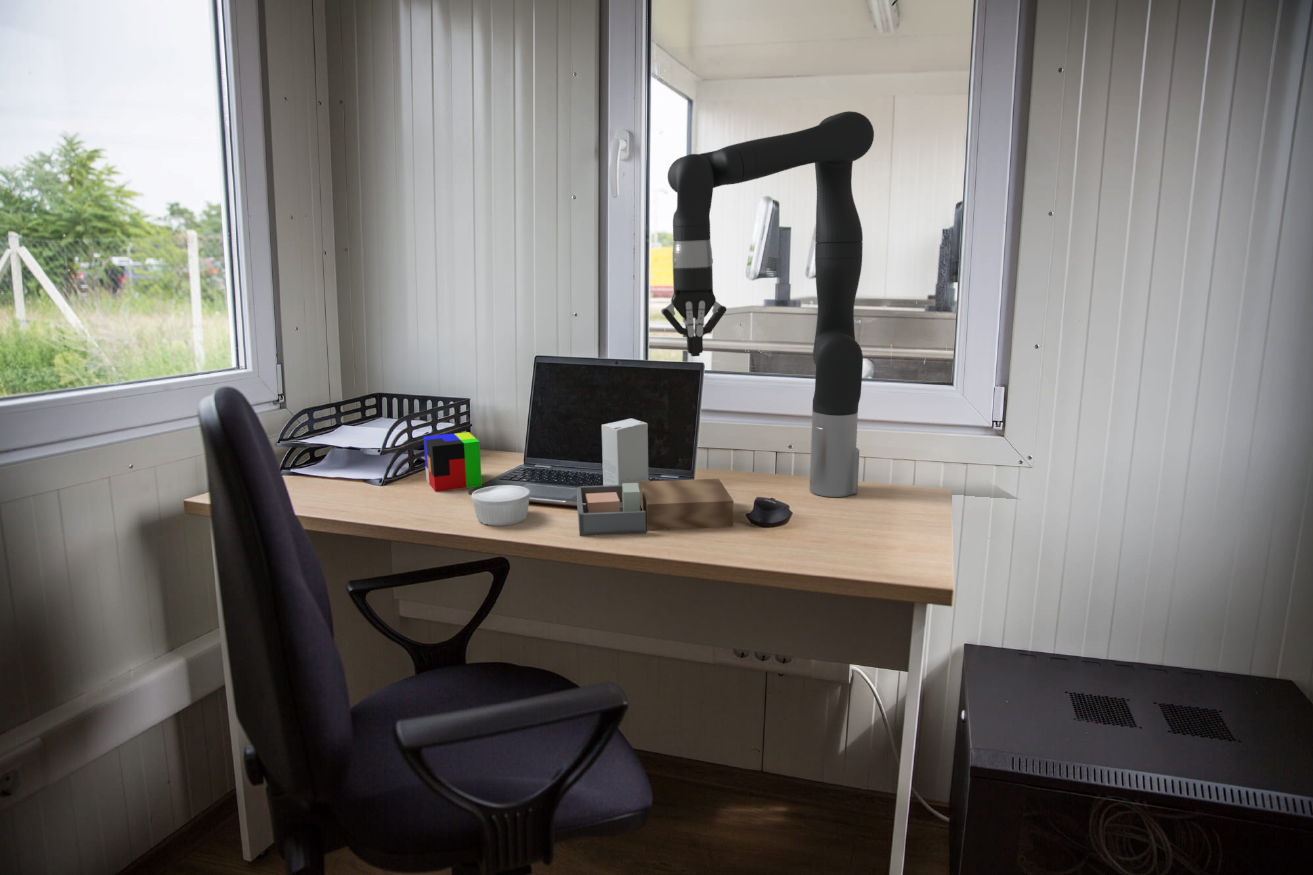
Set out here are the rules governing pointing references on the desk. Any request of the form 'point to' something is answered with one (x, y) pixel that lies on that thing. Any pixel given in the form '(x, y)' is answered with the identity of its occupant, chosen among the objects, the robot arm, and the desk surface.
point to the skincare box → (625, 452)
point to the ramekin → (501, 504)
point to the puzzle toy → (452, 461)
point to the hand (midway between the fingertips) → (695, 355)
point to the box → (607, 515)
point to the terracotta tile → (602, 502)
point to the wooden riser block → (686, 504)
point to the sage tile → (630, 497)
